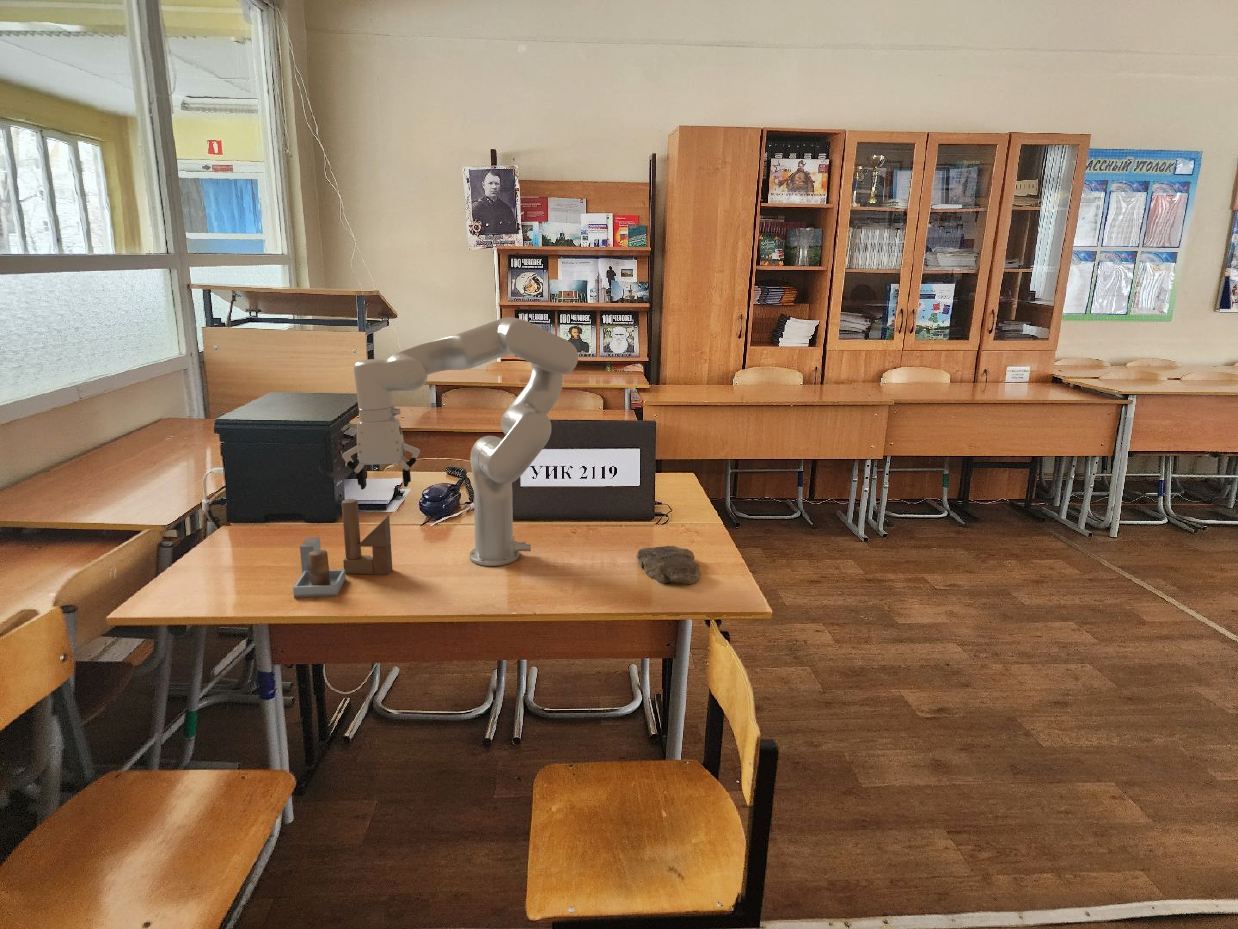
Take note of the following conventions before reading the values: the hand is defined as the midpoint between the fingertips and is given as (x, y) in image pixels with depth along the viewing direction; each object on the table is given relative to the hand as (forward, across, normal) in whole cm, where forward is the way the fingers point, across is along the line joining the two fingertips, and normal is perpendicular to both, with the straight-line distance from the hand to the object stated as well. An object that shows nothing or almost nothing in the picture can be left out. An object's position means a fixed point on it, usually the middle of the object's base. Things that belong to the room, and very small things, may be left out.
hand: (385, 486), depth 174 cm
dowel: (+21, +15, +7) cm, 27 cm away
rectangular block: (+21, +20, -2) cm, 29 cm away
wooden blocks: (+22, +7, -2) cm, 23 cm away
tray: (+22, +16, +7) cm, 27 cm away
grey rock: (+26, -67, +4) cm, 72 cm away
